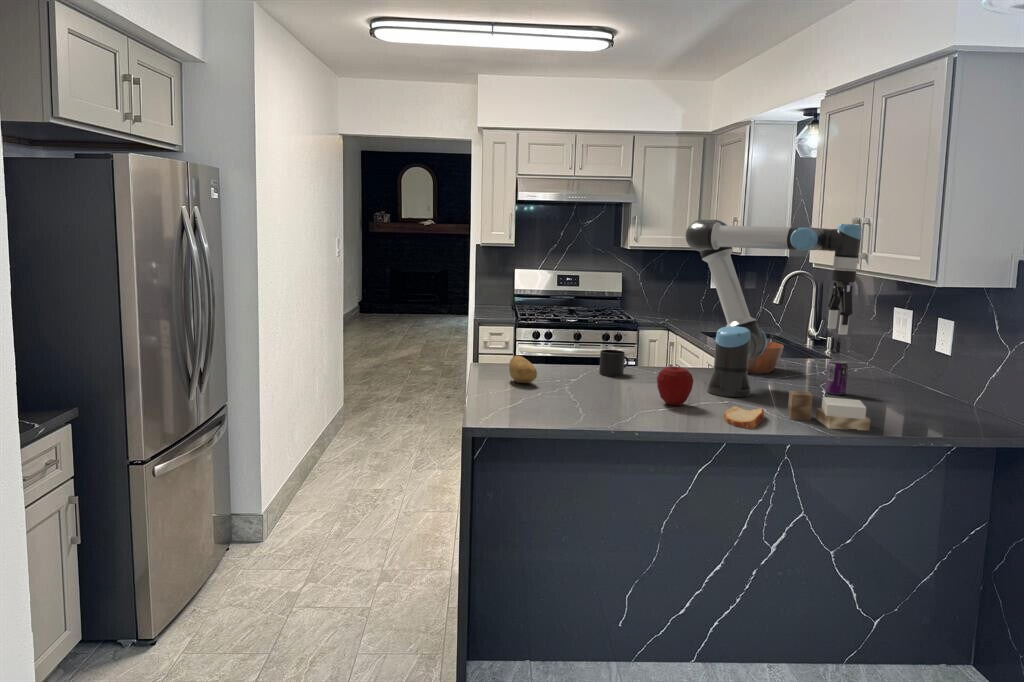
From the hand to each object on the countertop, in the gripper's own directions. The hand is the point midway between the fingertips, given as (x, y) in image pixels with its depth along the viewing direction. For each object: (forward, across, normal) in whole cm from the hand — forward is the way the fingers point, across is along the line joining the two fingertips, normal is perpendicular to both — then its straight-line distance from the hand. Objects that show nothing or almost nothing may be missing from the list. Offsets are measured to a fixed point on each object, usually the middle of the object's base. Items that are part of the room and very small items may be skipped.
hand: (837, 331), depth 275 cm
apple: (+26, -21, +55) cm, 64 cm away
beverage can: (+25, +15, -6) cm, 30 cm away
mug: (+27, +28, +74) cm, 84 cm away
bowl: (+26, +54, +18) cm, 63 cm away
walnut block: (+25, -28, +16) cm, 41 cm away
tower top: (+21, -34, +5) cm, 40 cm away
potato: (+27, -1, +108) cm, 111 cm away
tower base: (+25, -34, +5) cm, 42 cm away
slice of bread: (+26, -36, +34) cm, 56 cm away
